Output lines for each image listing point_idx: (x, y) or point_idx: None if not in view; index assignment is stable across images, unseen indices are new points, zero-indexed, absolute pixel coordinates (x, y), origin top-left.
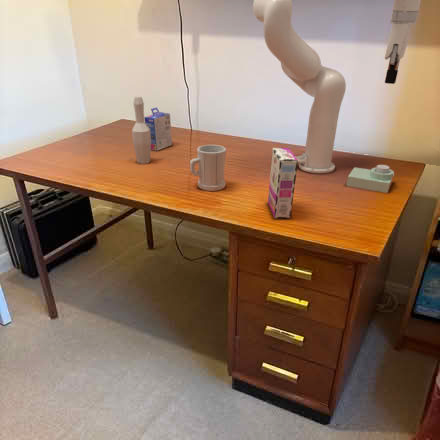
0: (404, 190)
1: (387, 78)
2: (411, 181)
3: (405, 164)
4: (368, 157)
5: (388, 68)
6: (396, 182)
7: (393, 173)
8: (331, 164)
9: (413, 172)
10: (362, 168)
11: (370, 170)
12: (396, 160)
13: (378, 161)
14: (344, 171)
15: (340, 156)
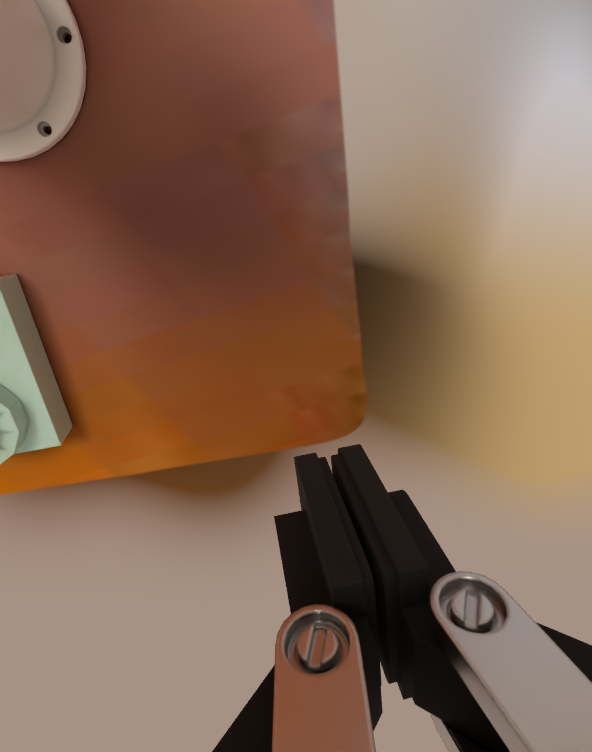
0: (30, 480)
1: (305, 512)
2: (144, 469)
3: (327, 395)
4: (334, 238)
5: (275, 653)
6: (91, 435)
7: (57, 442)
8: (48, 123)
9: (249, 445)
10: (11, 319)
11: (14, 358)
12: (359, 353)
13: (302, 296)
14: (52, 212)
15: (268, 101)
